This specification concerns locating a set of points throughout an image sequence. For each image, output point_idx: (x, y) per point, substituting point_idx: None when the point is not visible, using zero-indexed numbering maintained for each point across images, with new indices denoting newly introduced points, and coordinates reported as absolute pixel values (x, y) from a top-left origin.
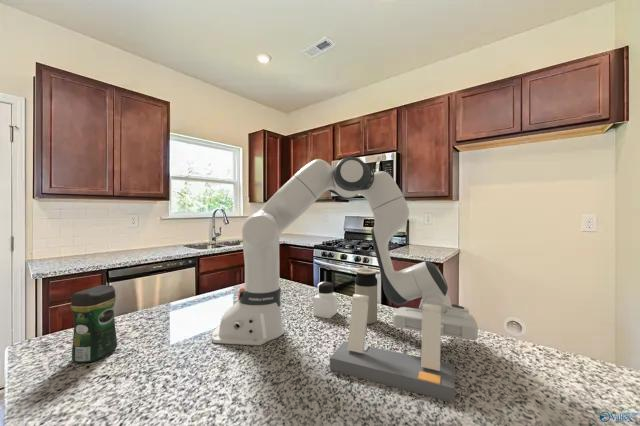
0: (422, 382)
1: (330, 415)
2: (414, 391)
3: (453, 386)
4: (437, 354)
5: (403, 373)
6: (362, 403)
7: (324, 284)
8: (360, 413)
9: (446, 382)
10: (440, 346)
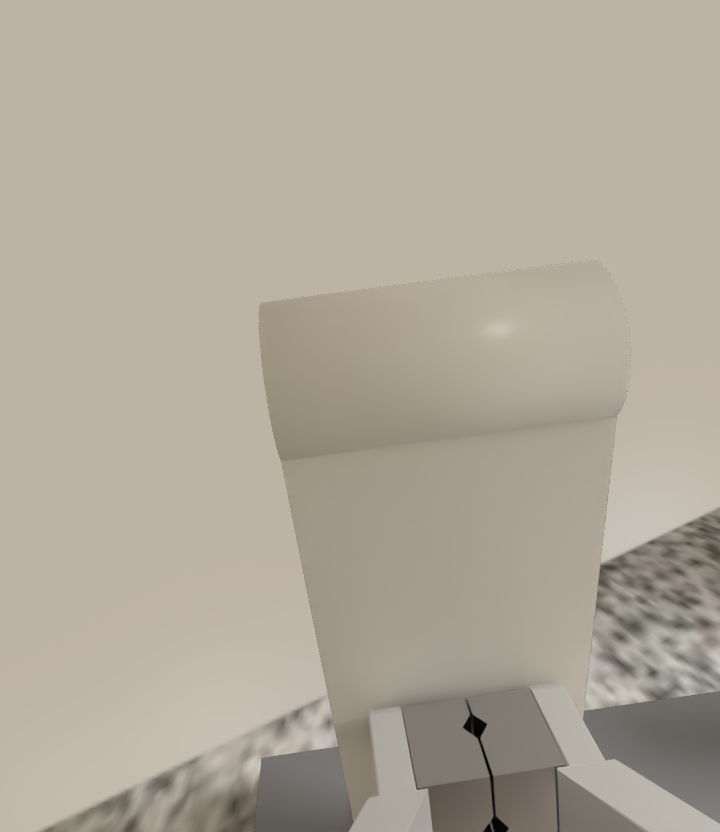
0: None
1: (705, 532)
2: None
3: (268, 772)
4: None
5: (619, 732)
6: (679, 609)
7: None
8: (637, 576)
9: (314, 792)
10: (351, 808)
